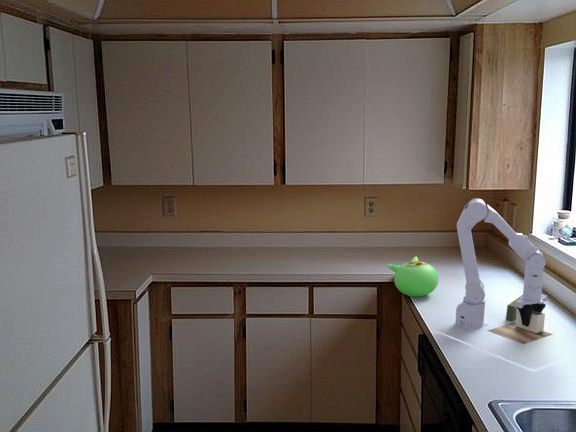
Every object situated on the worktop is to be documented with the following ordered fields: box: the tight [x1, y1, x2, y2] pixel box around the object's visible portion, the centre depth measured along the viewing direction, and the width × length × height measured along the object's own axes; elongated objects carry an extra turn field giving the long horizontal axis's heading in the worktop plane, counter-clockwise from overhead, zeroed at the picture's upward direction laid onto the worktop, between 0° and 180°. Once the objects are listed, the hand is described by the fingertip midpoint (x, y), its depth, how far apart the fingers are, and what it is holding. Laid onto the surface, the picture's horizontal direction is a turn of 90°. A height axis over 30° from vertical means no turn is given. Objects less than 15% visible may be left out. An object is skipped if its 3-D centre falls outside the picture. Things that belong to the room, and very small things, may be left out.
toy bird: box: [386, 255, 439, 298], centre depth 240 cm, size 18×17×15 cm
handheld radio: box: [505, 294, 523, 322], centre depth 221 cm, size 7×3×25 cm
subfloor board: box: [486, 321, 554, 345], centre depth 201 cm, size 16×14×1 cm
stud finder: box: [515, 309, 546, 333], centre depth 203 cm, size 4×8×6 cm, turn 34°
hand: (529, 324), depth 203 cm, fingers closed on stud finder, 4 cm apart
